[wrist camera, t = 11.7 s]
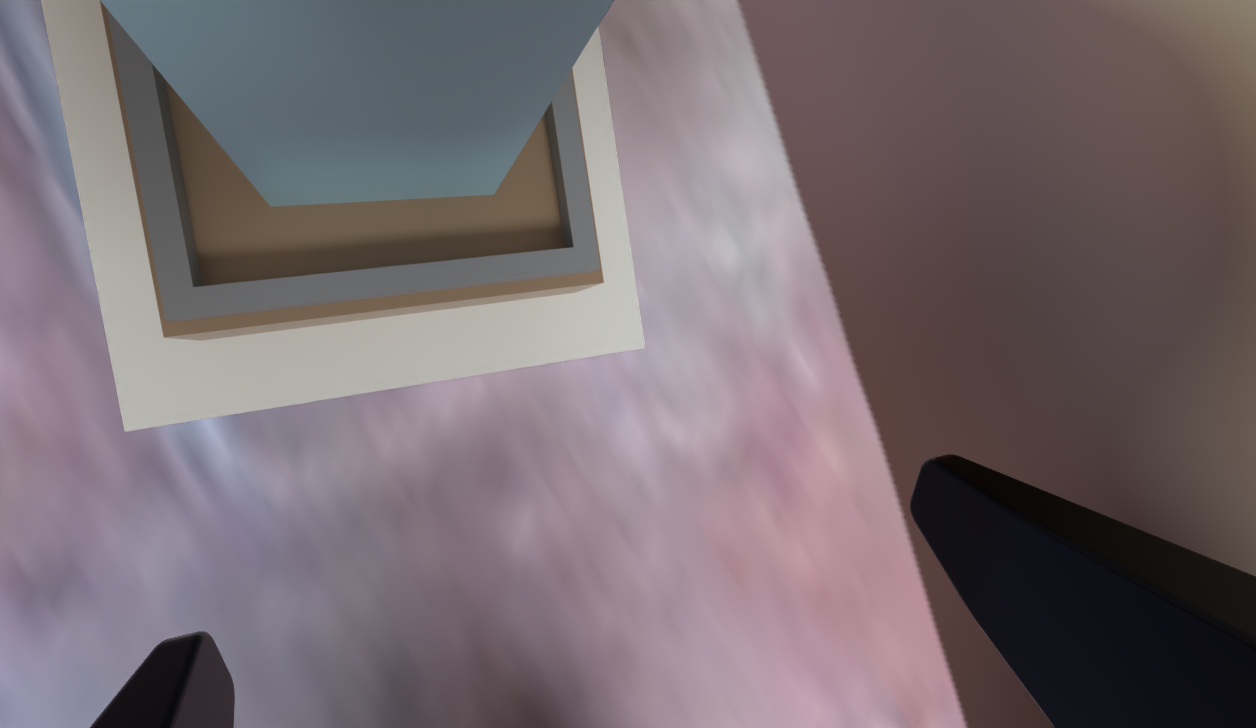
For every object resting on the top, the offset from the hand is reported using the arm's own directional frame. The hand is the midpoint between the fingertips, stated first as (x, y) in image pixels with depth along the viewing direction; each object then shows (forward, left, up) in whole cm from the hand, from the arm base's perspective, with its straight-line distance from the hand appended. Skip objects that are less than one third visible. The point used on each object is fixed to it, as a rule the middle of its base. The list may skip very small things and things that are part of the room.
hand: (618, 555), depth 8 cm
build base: (+9, +2, -13) cm, 16 cm away
